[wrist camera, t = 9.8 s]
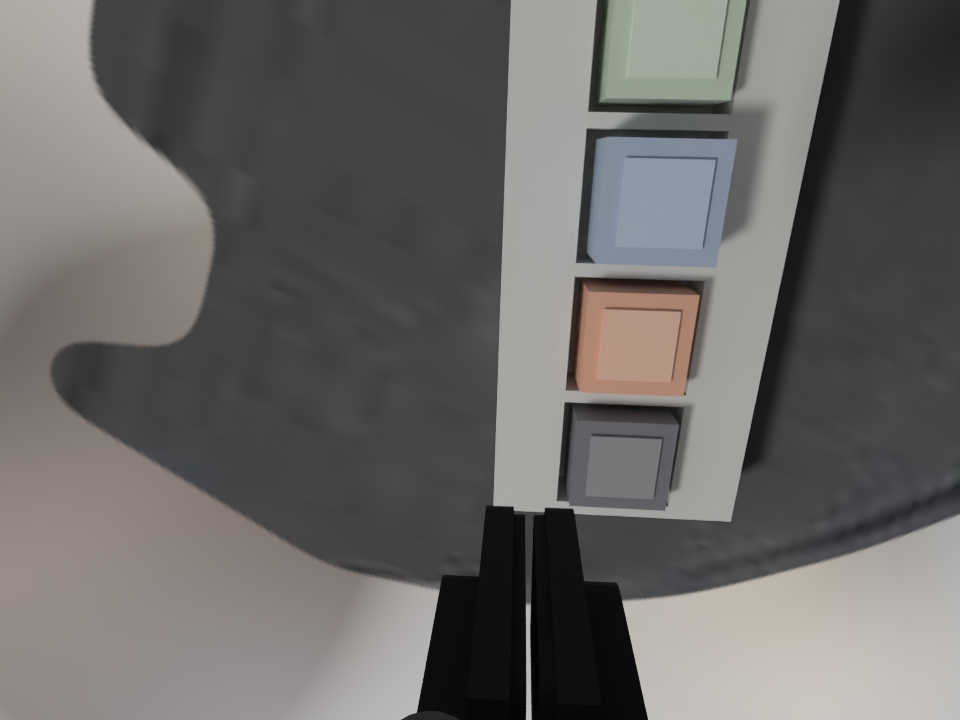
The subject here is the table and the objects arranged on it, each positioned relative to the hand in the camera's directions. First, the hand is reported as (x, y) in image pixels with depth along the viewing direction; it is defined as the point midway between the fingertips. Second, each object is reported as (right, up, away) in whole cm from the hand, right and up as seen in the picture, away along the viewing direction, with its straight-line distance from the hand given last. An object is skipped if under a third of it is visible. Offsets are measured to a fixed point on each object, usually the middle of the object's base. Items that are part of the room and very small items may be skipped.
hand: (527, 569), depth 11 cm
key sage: (+6, +17, +12) cm, 22 cm away
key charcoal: (+6, 0, +18) cm, 19 cm away
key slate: (+6, +11, +13) cm, 18 cm away
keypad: (+6, +9, +16) cm, 20 cm away
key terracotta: (+6, +6, +16) cm, 18 cm away
